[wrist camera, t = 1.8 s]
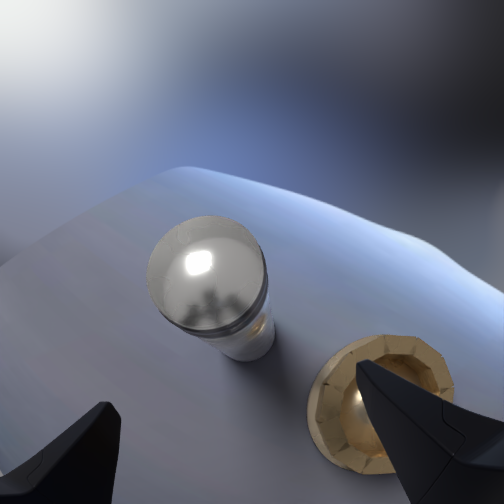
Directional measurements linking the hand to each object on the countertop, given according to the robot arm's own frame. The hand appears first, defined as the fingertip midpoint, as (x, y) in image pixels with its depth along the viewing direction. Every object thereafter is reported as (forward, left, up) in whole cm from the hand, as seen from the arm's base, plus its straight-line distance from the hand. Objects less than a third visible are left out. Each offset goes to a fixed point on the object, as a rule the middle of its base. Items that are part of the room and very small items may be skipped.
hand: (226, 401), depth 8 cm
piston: (+5, -1, -11) cm, 12 cm away
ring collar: (-4, -8, -11) cm, 14 cm away
